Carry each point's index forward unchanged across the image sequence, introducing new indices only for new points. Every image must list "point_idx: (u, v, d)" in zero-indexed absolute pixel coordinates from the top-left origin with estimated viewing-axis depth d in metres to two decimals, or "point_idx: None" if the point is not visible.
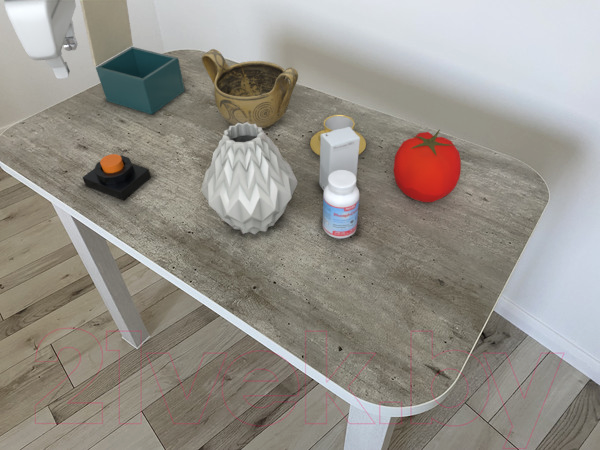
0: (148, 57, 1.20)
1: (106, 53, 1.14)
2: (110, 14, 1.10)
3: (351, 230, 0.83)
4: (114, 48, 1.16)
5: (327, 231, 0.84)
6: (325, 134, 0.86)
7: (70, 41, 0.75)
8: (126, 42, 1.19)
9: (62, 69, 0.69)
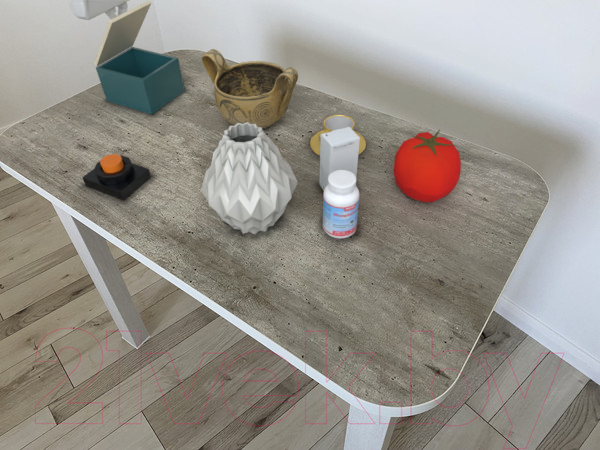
0: (148, 57, 1.20)
1: (109, 56, 1.14)
2: (128, 27, 1.10)
3: (351, 230, 0.83)
4: (117, 51, 1.16)
5: (327, 231, 0.84)
6: (325, 134, 0.86)
7: None
8: (129, 45, 1.19)
9: None
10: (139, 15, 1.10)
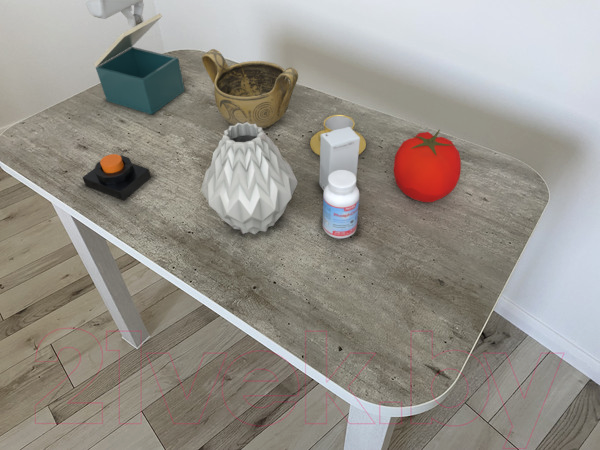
0: (148, 57, 1.20)
1: (110, 57, 1.15)
2: (135, 36, 1.11)
3: (351, 230, 0.83)
4: (118, 52, 1.16)
5: (327, 231, 0.84)
6: (325, 134, 0.86)
7: None
8: (130, 46, 1.19)
9: (131, 20, 1.05)
10: (148, 26, 1.10)
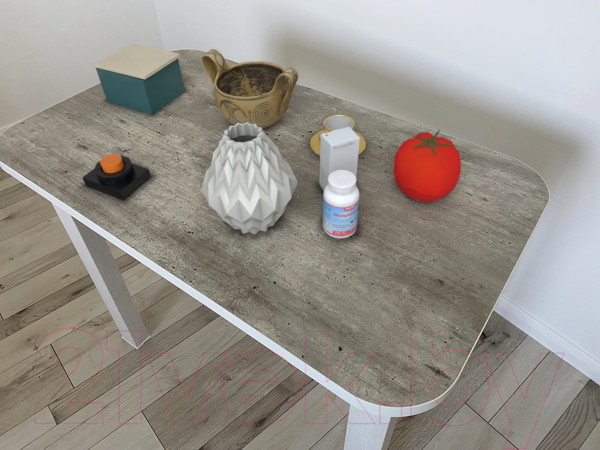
0: None
1: None
2: None
3: (351, 230, 0.83)
4: None
5: (327, 231, 0.84)
6: (325, 134, 0.86)
7: None
8: None
9: None
10: None
